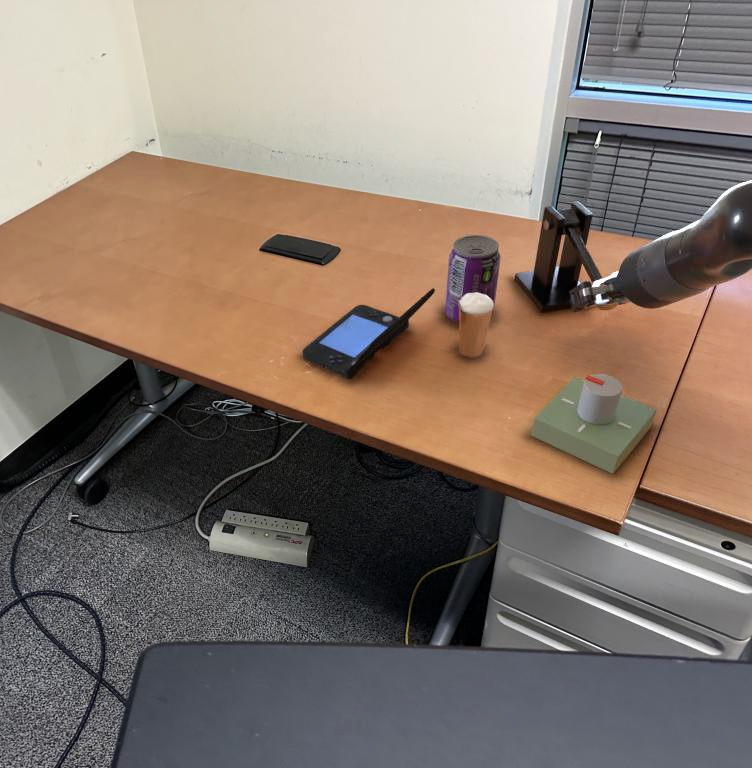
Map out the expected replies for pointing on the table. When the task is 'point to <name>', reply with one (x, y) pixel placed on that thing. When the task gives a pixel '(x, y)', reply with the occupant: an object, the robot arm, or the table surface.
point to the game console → (358, 338)
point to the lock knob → (599, 399)
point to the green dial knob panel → (592, 428)
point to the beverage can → (471, 271)
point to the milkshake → (474, 323)
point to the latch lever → (581, 248)
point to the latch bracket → (555, 262)
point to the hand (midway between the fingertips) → (596, 301)
